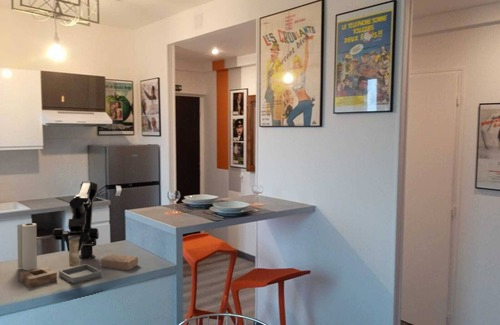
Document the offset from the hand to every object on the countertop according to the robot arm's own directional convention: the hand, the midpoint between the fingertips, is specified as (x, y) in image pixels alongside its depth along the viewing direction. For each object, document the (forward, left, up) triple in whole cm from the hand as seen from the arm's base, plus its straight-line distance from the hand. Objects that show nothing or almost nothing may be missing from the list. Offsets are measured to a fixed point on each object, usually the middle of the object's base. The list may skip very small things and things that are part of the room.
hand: (73, 251), depth 177 cm
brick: (-3, +24, -14) cm, 28 cm away
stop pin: (-1, +1, -7) cm, 7 cm away
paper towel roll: (-29, -7, -14) cm, 33 cm away
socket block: (-11, -10, -13) cm, 20 cm away
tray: (-3, +5, -13) cm, 15 cm away
